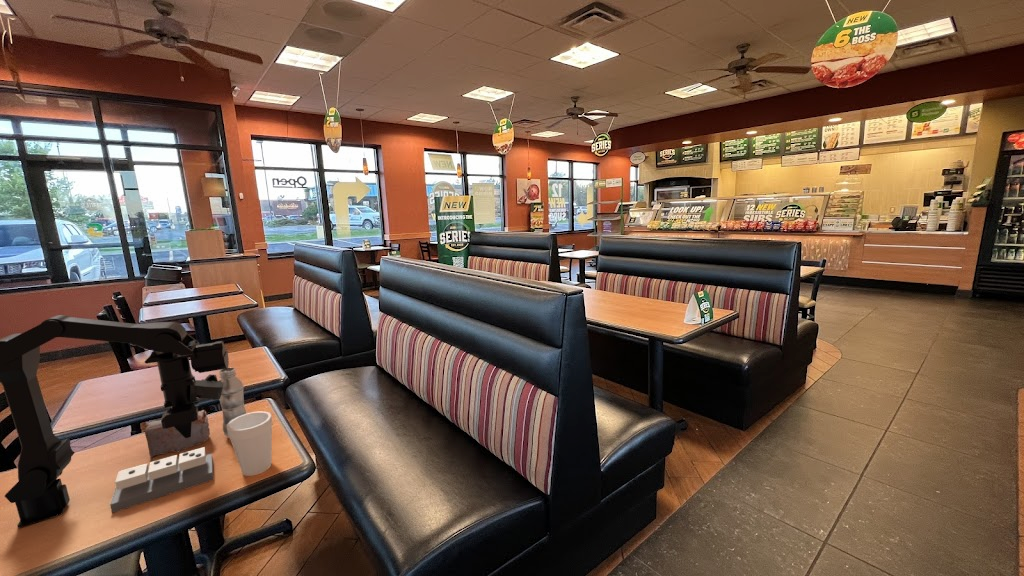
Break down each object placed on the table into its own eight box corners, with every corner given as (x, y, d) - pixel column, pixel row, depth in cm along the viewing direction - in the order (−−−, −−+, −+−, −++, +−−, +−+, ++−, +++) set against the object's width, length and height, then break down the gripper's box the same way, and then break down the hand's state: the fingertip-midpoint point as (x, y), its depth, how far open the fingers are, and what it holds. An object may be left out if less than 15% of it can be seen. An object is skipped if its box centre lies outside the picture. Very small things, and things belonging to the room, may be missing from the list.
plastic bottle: (238, 441, 117) (227, 375, 113) (218, 439, 118) (206, 373, 114) (256, 429, 123) (246, 366, 119) (237, 428, 124) (226, 364, 120)
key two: (149, 480, 95) (147, 471, 95) (151, 469, 99) (150, 461, 99) (177, 472, 98) (175, 463, 97) (178, 462, 102) (176, 453, 101)
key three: (179, 471, 98) (178, 462, 98) (181, 461, 102) (179, 453, 102) (205, 463, 101) (204, 455, 101) (206, 453, 105) (204, 446, 105)
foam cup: (286, 462, 107) (279, 415, 104) (251, 483, 98) (242, 433, 96) (262, 453, 111) (255, 408, 108) (226, 473, 102) (217, 425, 100)
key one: (116, 490, 92) (114, 481, 91) (120, 478, 96) (118, 470, 95) (146, 481, 95) (144, 472, 94) (149, 470, 99) (147, 462, 98)
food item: (211, 432, 123) (206, 401, 121) (211, 444, 116) (205, 411, 114) (151, 447, 115) (144, 415, 113) (147, 461, 108) (140, 427, 107)
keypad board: (112, 512, 90) (110, 504, 90) (119, 488, 98) (118, 480, 98) (213, 479, 100) (211, 472, 100) (213, 460, 108) (211, 453, 108)
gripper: (218, 380, 94) (229, 442, 97) (217, 357, 109) (226, 412, 112) (155, 393, 88) (168, 460, 91) (162, 367, 103) (174, 425, 106)
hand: (188, 437), depth 100 cm, fingers closed
